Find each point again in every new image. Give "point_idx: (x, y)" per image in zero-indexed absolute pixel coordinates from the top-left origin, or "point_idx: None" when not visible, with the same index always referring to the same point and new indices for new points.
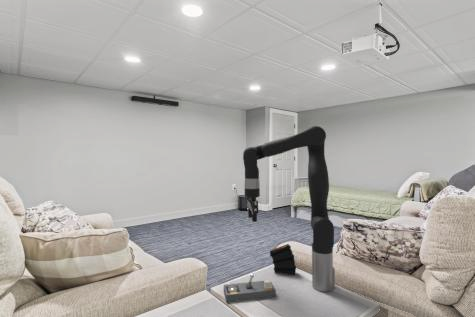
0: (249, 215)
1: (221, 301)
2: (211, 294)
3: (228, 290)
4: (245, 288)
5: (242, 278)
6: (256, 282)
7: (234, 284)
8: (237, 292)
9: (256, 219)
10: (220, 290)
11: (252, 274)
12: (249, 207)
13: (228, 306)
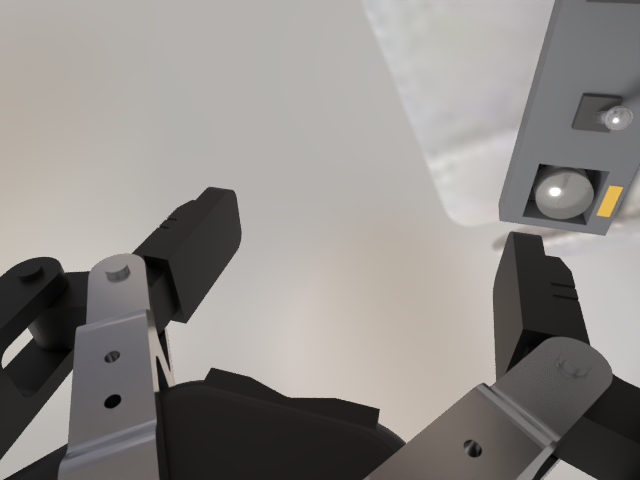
0: (224, 252)
1: (578, 232)
2: (500, 251)
3: (566, 216)
4: (596, 135)
5: (405, 85)
6: (562, 49)
7: (521, 175)
8: (611, 184)
9: (543, 261)
10: (483, 213)
11: (625, 119)
12: (173, 376)
13: (637, 218)
